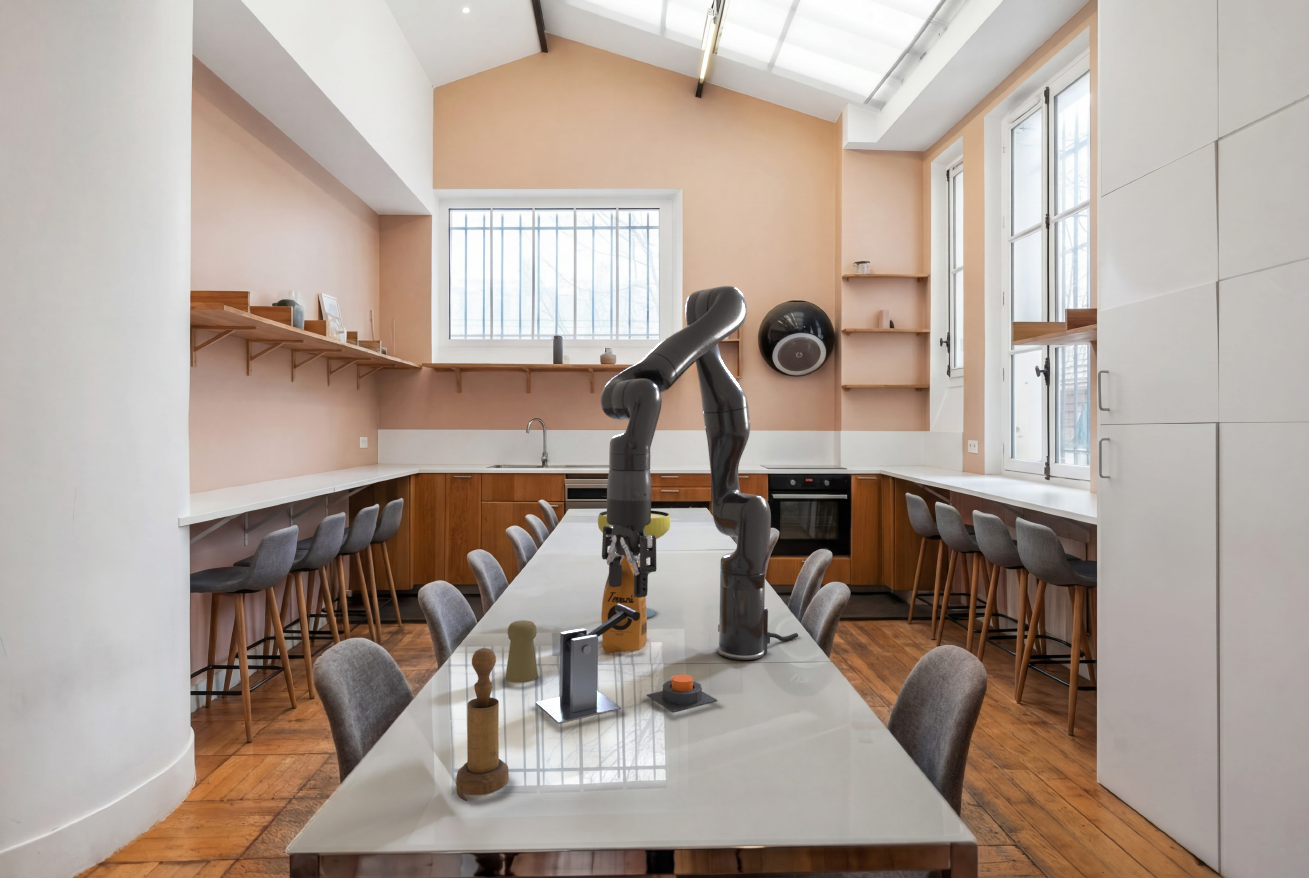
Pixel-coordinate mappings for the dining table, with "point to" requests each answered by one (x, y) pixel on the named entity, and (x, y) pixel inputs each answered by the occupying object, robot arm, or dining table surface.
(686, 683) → the button
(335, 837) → the dining table surface
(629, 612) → the black t-handle
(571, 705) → the lever stand
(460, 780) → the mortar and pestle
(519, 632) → the cork
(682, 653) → the dining table surface
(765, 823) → the dining table surface
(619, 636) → the coffee package
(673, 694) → the control block
